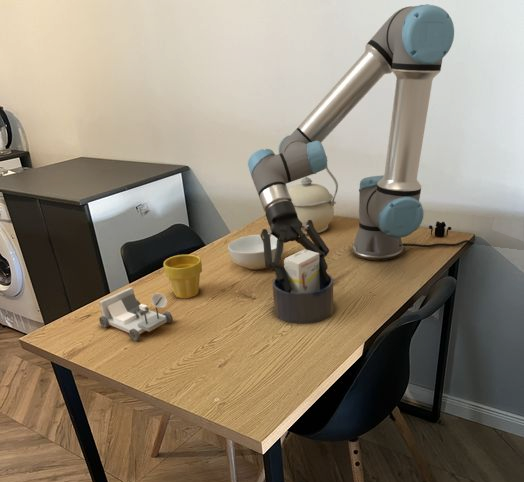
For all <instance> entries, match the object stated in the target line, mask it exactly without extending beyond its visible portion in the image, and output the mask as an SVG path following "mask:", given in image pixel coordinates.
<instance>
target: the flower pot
mask: <svg viewBox="0 0 524 482" xmlns="http://www.w3.org/2000/svg"><path fill="white" fill-rule="evenodd" d="M163 270H164V275H165V277H167V278H168V281H169V282H170V283H169V284H170V286H171V288H172V290H173V294H174V296H175V297H177V298H178V299H179V298H180V299H189V298H193V297H196V296H197V295H198V294H199V292H200V291H199V289H200V277H201V276H200V275H201V273H202V271H203V264H202V259H201V257H200V256H198V255H195V254H177V255H173V256H170V257H169V258H166V259H165V260H164V261H163Z"/></svg>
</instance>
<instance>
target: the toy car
mask: <svg viewBox="0 0 524 482" xmlns="http://www.w3.org/2000/svg"><path fill="white" fill-rule="evenodd" d="M135 294H136V293H135V291H134V287H132V286H131V287H128V288H126V289H123V290H121V291H119V292H117V293H115V294H112V295H111V296H108V297H106V298H104V299H102V300H100V301H99V302H98V303H99V306H100V310H101V314H102V316H100V317H99V318H98V322H99V324H100V326H101V327H103V328H104V329H106V328H108V327H109V326H111V327H114V328H116V329H119V330H121V331H124V332H126V333H127V334H129V336H130V339H132V340H133V341H134V342H137V341H139V340H140V337H141V336H140V335H141V334H143V333H144V332H148V333H150V332H152V331H153V330H156V329H157V328H159V327H161V326H162V325H164V324H166V323H167V324H171V323H172V322H173V321H174V318H173V316H172V314H171V312H169V311H168V310H166V311H164V312H163V313H159V311H158V309H163V308H166V307H167V306H168V299H167V297H166V296H165V294H163V293H160V292H156V293H153V294H152V295H151V300H150V301H151V304H152V306H153V307H154V308H155V311H154V310H151V309H149V307H148V305H146V304H144V303H141V302H140V301H139V300H137V297H136V295H135Z"/></svg>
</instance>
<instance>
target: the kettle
mask: <svg viewBox="0 0 524 482" xmlns="http://www.w3.org/2000/svg"><path fill="white" fill-rule="evenodd" d="M326 158H327V162H328V160H329V159H328V156H327V155H326ZM325 171H326V172H327V174H328V175H329V176H330V178H331V179H332V180H333V182H334V185H335V191H334V195H333V194H331V193H330V191H329V190H328V188H327V187H325V186H324V185H321V184H319V183H313V180H312V179H311V178H310V177H309V176H306V177H304V178H301V181H300V184H296V185H294V186H292V187H290V188H289V189H288V191H289V194H290V197H291V199H292V203H293V205H294V207H295V210H296V213H297V216H298V219H299V220H300V221H301V222H308V220H312V222H313V226H314V228H315V230H316V231H317V233H318V234H320V233H322V232H325V231H326V230H327V229H329V224H330V223H331V221H332V220H333V219H334V215H335V208H334V206H335V205H336V204H337V201H335V199H336V196H337V193H338V190H339V184H338V181H337V179H336V177H335V176H334V175H333V172H331V170H330V169H329V167H328V166H327V167H326V169H325ZM301 231H302V232H304V233H305V236H306V235H307V236H308V234H307V231H304V228H301Z"/></svg>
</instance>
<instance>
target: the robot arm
mask: <svg viewBox="0 0 524 482" xmlns="http://www.w3.org/2000/svg"><path fill="white" fill-rule="evenodd" d="M454 39H455V26H454V22H453V19H452V17H451V16H450V14H449V13H448V12H447V11H446V10H445V9H444V8H442V7H440V6H437V5H434V4H427V3H426V4H420V5H414V6H405V7H402V8H400V9H398V10H397V11H395V12H394V13H393V14H392V15H391V16H390V17H388V19H387V20H386V21H385V22H384V23H383V24H382V25H381V27H380V28H379V29H378V30H377V32H376V33H374V35H373V36H372V37H371V38H370V39H369V41H368V42H367V43H366V44H365V45H364V52H363V53H362V54H361V56H360V57H359V58H358V59H357V60H356V62H355V63H354V64H353V65H352V66H351V67H350V68H349V69H348V70H347V72H345V74H344V75H343V76H342V77H341V78H340V79H339V80H338V81H337V83H336V84H335V85H334V86H333V87H332V88H331V89H330V90H329V92H328V93H327V94H326V95H325V96H324V97H323V98H322V99H321V101H320V102H319V103H318V104H317V105H316V106H315V107H314V109H312V111H311V112H310V113H309V114H308V115H307V117H306V118H305V119H304V120H303V121H302V122H301V123H300V124H299V125H298V126H297V128H296V129H295V130H294V131H293V132H292V133H291V134H290V135H289V134H288V135H286V136H285V137H283V138H282V139H281V141H280V142H279V144H278V153H277V154H275V152H274V150H272V149H270V148H265V149H264V148H262V149H259V150H256V151H254V152H253V153H252V154H251V155H250V156H249V158H248V160H247V168H248V170H249V173H250V176H251V180H252V182H253V184H254V188H255V190H256V193H257V195H258V197H259V201H260V203H261V206H262V209H263V212H264V213H265V217H266V220H267V223H268V226H269V228H268V229H266V228H263V229H262V230H261V233H260V234H261V235H260V236H261V238H262V241H263V246H264V258H265V268H264V269H265V270H271V271H272V272H274V273H275V276H276V277H277V279H278V281H279V282H280V281H282V283H283V286H284V289H285V291H286V292H291V290H292V287H291V285H290V282H289V279H288V276H287V273H286V271H285V268H284V264H281V262H282V261H281V260H282V256H283V254H282V249H283V243H284V244H286V243H289V242H296V243H298V244H300V245H301V246H302V247H303V248H304V249H306V250H310V251H313V252H317V253H319V273H320V277H321V280H322V283H323V285H326V284H327V283H328V282H329V281H330V280H329V277H328V274H329V273H328V272H327V270H328V269H329V267H328V264H327V261H326V258H325V257H326V256H328V254H329V253H330V249H329V248H328V246H327V244H326V243H325V241H324V240H323V238H322V236H321V235H320V233H317V231H316V230H315V228H314V226H313V222H312V220H308V222H301V221H300V220H299V219H298V216H297V213H296V210H295V207H294V205H293V203H292V199H291V197H290V194H289V191H288V190H289V189H288V187H287V184H290V183H293V182H295V181H297V180H302V179H304V178H305V177H309V176H312V175H316V174H317V173H319V172H322V171H324V170H326V167H328V161H327V160H328V157H327V158H326V156H327V154H326V151H325V148H324V146H323V143H322V142H324V141H325V140H326V138H327V137H328V136H329V135H330V134H331V133H332V132H334V129H335V128H337V126H339V124H340V123H341V122H342V121H343V120H344V119H345V118H346V116H348V114H349V113H350V112H351V111H352V110H353V109H354V108H355V107H356V106H357V105H358V104H359V103H360V102H361V101H362V100H363V98H365V96H366V95H367V94H368V93H369V92H370V91H371V90H372V88H374V86H375V85H376V84H377V83H378V82H379V81H380V80H381V79H382V78H383V77H384V76H385V75H388V74H391V73H393V74H394V76H395V78H396V82H395V88H394V97H393V104H392V110H391V111H392V113H391V120H390V128H389V135H388V144H387V151H386V159H385V166H384V173H383V174H384V175H382V174H381V175H373V176H367V177H363V178H361V180H360V182H359V188H358V192H359V193H358V194H359V195H358V197H359V199H358V200H359V201H358V230H357V232H356V236H355V239H354V241H353V244H352V254H353V255H354V256H355V257H356V258H359V259H361V260H366V261H375V262H381V261H389V260H393V259H397V258H399V257H400V256H401V255H402V254H403V252H404V247H417V248H433V247H459V246H460V245H463V244H466V243H468V244H470V245H474V244H475V242H473V241H472V240H469V239H465V240H461V241H459V242H455V243H445V242H439V243H438V242H437V243H431V244H430V243H429V244H421V243H420V244H419V243H403V240H402V238H406V237H408V236H410V235H412V234H413V233H414V232H415V231H417V230H418V229H419V227H420V226H421V224H422V223H423V220H424V207H423V204H422V203H421V202H420V198H421V192H422V184H421V183H420V182H419V180H418V175H419V174H418V173H419V167H420V161H421V155H422V149H423V144H424V143H423V142H424V136H425V130H426V129H425V128H426V123H427V118H428V111H429V106H430V105H429V104H430V98H431V91H432V85H433V80H434V78H436V77H437V75H439V73H441V71H442V64H443V59H444V57H445V56H446V55H447V54H448V53H449V52H450V50H451V49H452V46H453V43H454ZM301 228H304V231H307V234H308V235H307V236H306V235H305V233H304V232H302V231H301ZM271 235H273V236H274V237H276V238H277V245H276V246H277V247H276V252H275V258H274V262H272V254H271V243H270V237H271ZM308 237H309V238H308ZM281 255H282V256H281ZM327 273H328V274H327Z"/></svg>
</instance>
